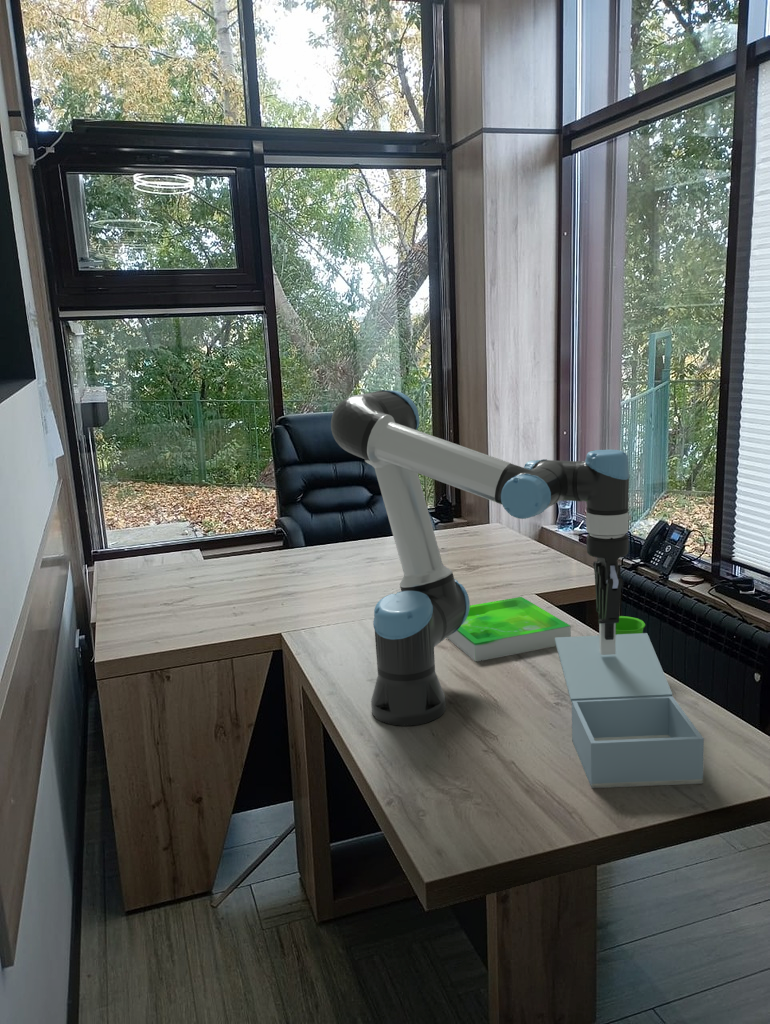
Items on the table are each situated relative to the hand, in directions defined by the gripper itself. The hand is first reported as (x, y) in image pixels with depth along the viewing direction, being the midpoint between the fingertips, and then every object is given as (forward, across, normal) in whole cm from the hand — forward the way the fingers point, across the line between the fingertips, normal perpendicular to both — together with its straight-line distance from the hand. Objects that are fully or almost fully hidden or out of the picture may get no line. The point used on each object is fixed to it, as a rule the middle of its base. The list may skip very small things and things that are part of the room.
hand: (607, 652), depth 155 cm
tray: (+14, +45, +16) cm, 50 cm away
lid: (+2, -2, 0) cm, 2 cm away
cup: (+13, +20, -8) cm, 25 cm away
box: (+13, -18, 0) cm, 22 cm away
